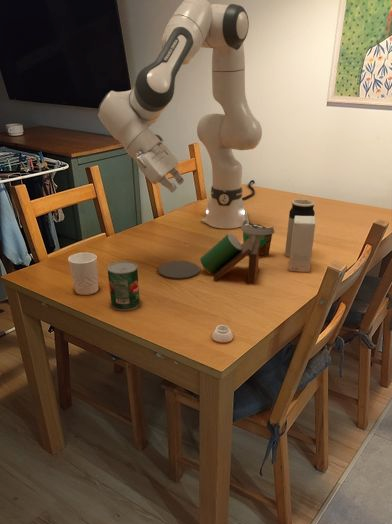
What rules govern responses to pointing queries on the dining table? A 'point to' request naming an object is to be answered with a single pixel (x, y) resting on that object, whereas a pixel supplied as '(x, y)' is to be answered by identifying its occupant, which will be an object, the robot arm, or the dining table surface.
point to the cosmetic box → (302, 243)
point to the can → (220, 253)
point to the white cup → (84, 272)
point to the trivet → (179, 270)
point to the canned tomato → (123, 285)
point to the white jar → (222, 334)
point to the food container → (258, 236)
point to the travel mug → (298, 209)
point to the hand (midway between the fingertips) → (178, 186)
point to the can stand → (247, 247)
